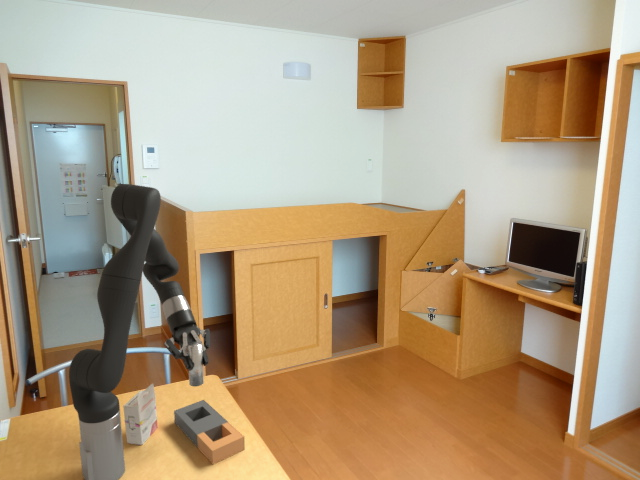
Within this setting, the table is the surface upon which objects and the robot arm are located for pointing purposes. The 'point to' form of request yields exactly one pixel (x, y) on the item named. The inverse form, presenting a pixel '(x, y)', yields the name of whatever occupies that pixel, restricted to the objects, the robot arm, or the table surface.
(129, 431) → the ink cartridge box
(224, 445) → the socket block
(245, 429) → the table surface
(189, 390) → the table surface
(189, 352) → the silver metal cylinder
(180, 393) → the table surface
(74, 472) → the table surface
